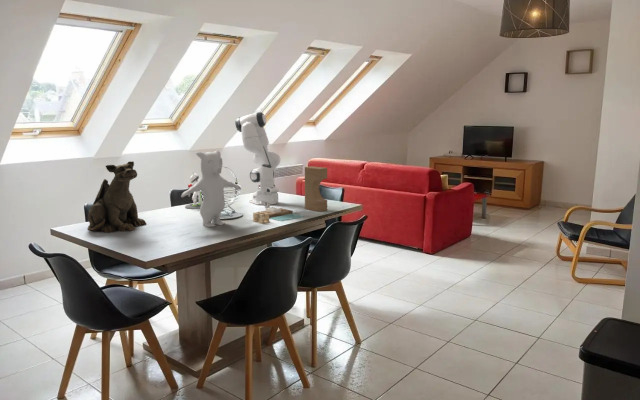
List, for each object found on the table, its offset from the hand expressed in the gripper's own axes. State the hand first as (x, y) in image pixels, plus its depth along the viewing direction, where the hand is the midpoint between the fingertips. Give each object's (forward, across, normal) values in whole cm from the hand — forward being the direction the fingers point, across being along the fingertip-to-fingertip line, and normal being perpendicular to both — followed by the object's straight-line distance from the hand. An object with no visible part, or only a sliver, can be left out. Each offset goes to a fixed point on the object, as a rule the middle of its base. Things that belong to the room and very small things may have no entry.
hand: (267, 208), depth 348 cm
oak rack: (+3, +19, -20) cm, 28 cm away
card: (+1, +6, 0) cm, 6 cm away
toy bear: (+4, +6, -46) cm, 46 cm away
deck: (+3, +7, 0) cm, 8 cm away
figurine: (+4, -53, -24) cm, 58 cm away
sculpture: (+4, -25, -92) cm, 95 cm away
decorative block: (+3, +14, +32) cm, 35 cm away
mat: (+3, +20, 0) cm, 20 cm away
